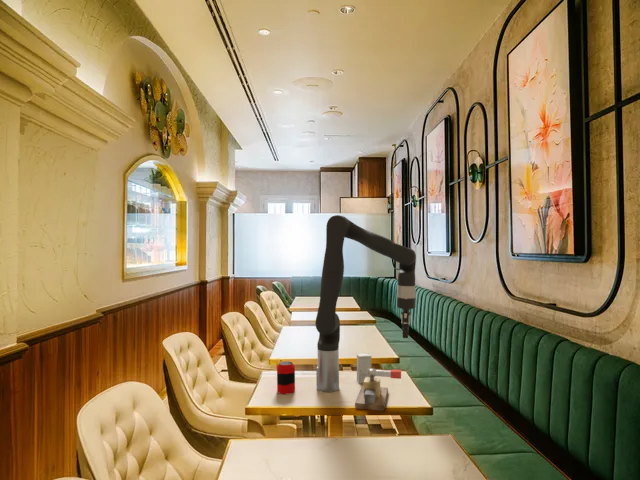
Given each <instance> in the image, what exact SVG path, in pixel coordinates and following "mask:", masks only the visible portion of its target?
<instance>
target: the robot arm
mask: <svg viewBox="0 0 640 480" xmlns="http://www.w3.org/2000/svg"><path fill="white" fill-rule="evenodd" d="M325 230H326V231H325V232H326V239H325V242H326V244H325V251H324V257H323V264H322V269H321V270H322V271H321V279H320V282H321V283H320V291H319V294H320V295H319V302H318V303H319V304H318V308H317V313H316V318H315V329H316V331H317V332H318V333H319V335H318V341H317V346H316V347H317V366H316V368H315V369H316V375H315V376H316V390H317V391H321V392H324V393H325V392H326V393H328V392H329V393H330V392H336V391H338V390H339V389H340V364H339V362H340V359H339V353H340V351H339V350H340V349H339V348H340V347H339V346H340V345H339V344H340V339H341V338H340V336H341V334H340V333H341V332H340V331H341V323H340V317H339V315H338V314H337V310H336V309H337V304H338V303H337V302H338V298H339V297H340V293H341V289H342V286H343V280H344V273H345V272H344V271H345V261H344V252H343V251H344V242H345V238H346V239H350V240H353V241H355V242H357V243H359V244H361V245H362V246H365V247H366V248H368V249H370V250H372V251H374V252H375V253H378V254H379V255H382V256H384V257H388V258H390V260H391V259H392V260H393V261H394V262H397V263H399V264H398V265H399V266H398V274H397V289H396V307H397V308H398V309H402V311H401V312H400V318H401V328H402V338H403V339H409V332H410V331H409V329H410V324H411V317H412V311H411V310H412V309H415V308H416V302H417V301H416V298H417V297H416V262H417V254H416V252H415V250H413V249H412V248H410V247H406V246H404V245H402V244H398V243H396V242H395V241H394V240H391V239H390V238H387V237H384V236H382V235H381V234H377V233H374V232H373V231H370V230H367V229H365V228H363V227H361V226H359V225H357V224H356V223H354V222H352V220H349V218H347V217H345V216H344V215H339V214H334V215H332V216H330V217H329V218H328V220H327V223H326V229H325Z"/></svg>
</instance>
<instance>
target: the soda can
mask: <svg viewBox="0 0 640 480" xmlns="http://www.w3.org/2000/svg"><path fill="white" fill-rule="evenodd" d="M295 370H296V368H295V365H294V363H293V361H281V362H279V363H278V365H277V366H276V381H277V382H276V385H277V386H276V388H277V389H276V392H277V393H279V394H281V395H291V394H293V393H294V392H295V391H296V371H295Z"/></svg>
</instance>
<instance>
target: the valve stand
mask: <svg viewBox="0 0 640 480" xmlns="http://www.w3.org/2000/svg"><path fill="white" fill-rule="evenodd" d="M388 394H389V388H388V387H386V386H385V387H383V386H382V387H381V378H380V377H365V380H364V383H363V385H361V387H360V389H359V391H358V395H357V396H356V397H357V398H356V399H355V402H354V408H355V409H360V410H361V409H362V410H373V411H385V408H386V407H385V406H386V404H385V403H387V400H388V399H387V398H388Z"/></svg>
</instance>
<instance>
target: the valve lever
mask: <svg viewBox="0 0 640 480" xmlns="http://www.w3.org/2000/svg"><path fill="white" fill-rule="evenodd" d="M368 376H369V377H374V378H376V377H382V378H386V377H387V378H390V379H397V380H398V379H399V380H401V379H402V369H389V370H388V369H376V368H373V367H371V368H370V369H368Z"/></svg>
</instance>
